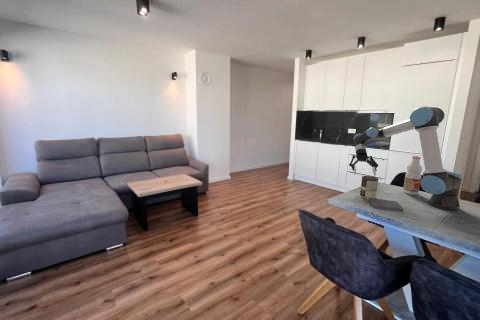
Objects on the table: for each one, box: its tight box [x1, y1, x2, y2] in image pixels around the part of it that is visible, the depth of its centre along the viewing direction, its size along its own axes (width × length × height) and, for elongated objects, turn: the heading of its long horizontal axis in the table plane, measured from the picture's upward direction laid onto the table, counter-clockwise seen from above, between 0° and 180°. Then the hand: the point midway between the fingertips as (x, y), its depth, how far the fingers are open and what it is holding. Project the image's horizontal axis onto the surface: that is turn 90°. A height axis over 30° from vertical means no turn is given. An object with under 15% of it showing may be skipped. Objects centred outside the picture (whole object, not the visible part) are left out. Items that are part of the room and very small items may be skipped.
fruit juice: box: [402, 155, 423, 196], centre depth 173 cm, size 9×9×28 cm
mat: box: [368, 198, 404, 212], centre depth 150 cm, size 16×14×2 cm
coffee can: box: [359, 175, 379, 200], centre depth 164 cm, size 10×10×14 cm
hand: (365, 174), depth 172 cm, fingers open, 13 cm apart
